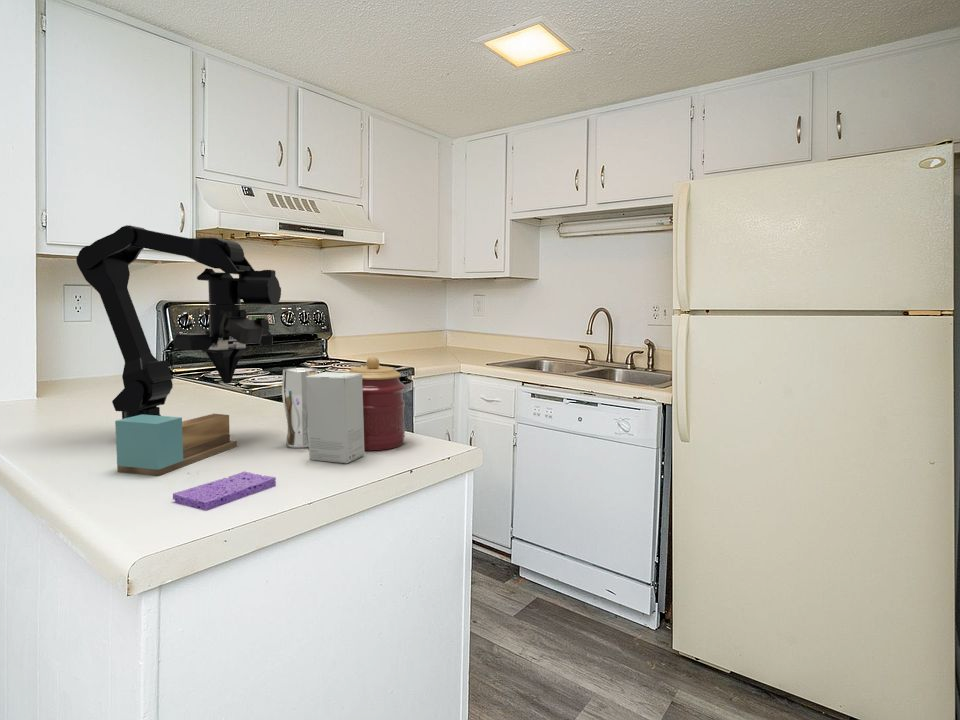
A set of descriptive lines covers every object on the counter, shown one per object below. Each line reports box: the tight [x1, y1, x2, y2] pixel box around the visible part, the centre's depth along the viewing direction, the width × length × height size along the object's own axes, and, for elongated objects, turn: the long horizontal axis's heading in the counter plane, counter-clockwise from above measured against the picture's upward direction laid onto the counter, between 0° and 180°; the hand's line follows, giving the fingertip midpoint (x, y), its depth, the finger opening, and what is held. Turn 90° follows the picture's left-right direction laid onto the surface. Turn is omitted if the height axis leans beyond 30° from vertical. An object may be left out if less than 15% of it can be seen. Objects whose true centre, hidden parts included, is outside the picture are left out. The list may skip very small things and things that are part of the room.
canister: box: [345, 356, 406, 451], centre depth 116 cm, size 13×13×18 cm
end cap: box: [114, 414, 183, 470], centre depth 96 cm, size 8×6×8 cm
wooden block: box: [182, 413, 231, 449], centre depth 106 cm, size 4×14×5 cm, turn 163°
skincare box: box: [306, 371, 366, 464], centre depth 105 cm, size 8×7×16 cm
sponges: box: [172, 471, 277, 511], centre depth 85 cm, size 7×13×2 cm, turn 153°
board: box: [117, 434, 238, 477], centre depth 103 cm, size 8×20×2 cm, turn 167°
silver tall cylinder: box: [281, 367, 319, 449], centre depth 114 cm, size 7×7×15 cm
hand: (227, 383), depth 114 cm, fingers closed
